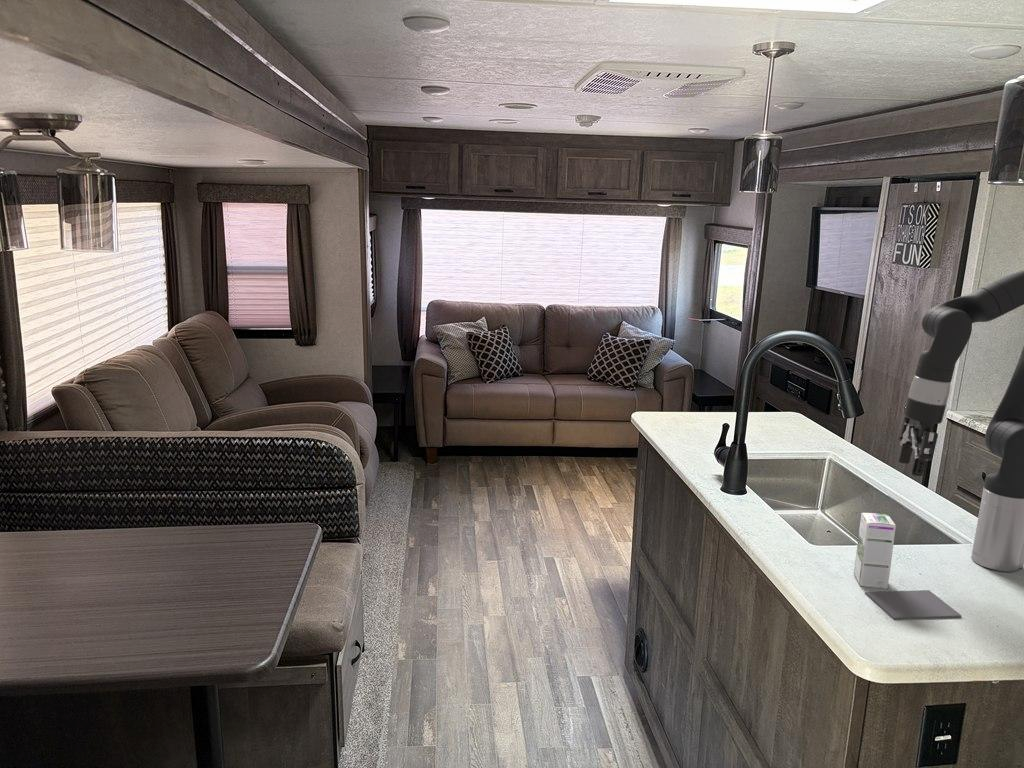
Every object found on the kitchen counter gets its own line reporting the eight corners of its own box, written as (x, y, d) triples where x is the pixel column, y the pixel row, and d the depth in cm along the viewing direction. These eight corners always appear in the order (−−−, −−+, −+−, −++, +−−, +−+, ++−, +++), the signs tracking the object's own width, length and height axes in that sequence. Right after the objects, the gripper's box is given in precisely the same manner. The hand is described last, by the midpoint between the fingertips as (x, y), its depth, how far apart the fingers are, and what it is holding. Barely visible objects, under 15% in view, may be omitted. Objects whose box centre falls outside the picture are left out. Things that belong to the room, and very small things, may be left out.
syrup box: (888, 589, 158) (898, 524, 155) (858, 586, 159) (867, 521, 156) (881, 577, 163) (890, 514, 160) (852, 573, 165) (860, 511, 161)
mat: (928, 591, 157) (929, 590, 157) (961, 617, 148) (961, 615, 148) (865, 593, 156) (865, 591, 156) (893, 619, 146) (893, 617, 146)
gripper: (958, 409, 157) (939, 482, 161) (933, 393, 170) (916, 461, 174) (920, 404, 158) (902, 476, 162) (898, 388, 171) (882, 456, 175)
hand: (909, 468), depth 168 cm, fingers open, 8 cm apart
